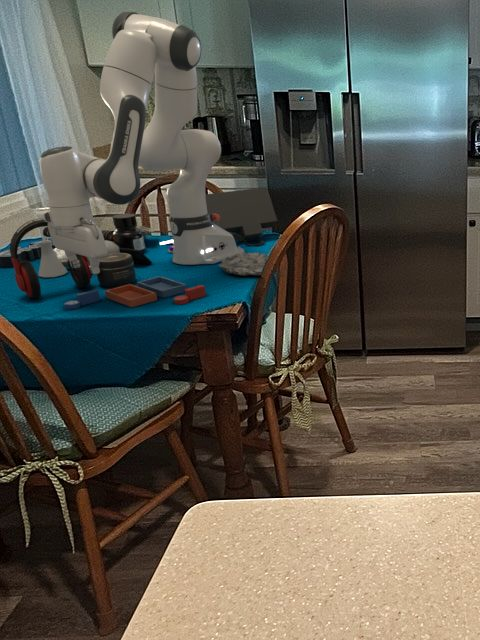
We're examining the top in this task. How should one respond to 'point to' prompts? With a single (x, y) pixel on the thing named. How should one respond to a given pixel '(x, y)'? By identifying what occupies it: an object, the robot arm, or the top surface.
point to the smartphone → (136, 255)
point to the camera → (243, 211)
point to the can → (39, 215)
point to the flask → (50, 261)
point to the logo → (22, 254)
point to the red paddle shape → (191, 294)
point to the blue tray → (163, 286)
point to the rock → (244, 263)
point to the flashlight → (106, 233)
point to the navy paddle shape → (83, 299)
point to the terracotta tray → (131, 295)
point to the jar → (116, 270)
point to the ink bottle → (127, 232)
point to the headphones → (26, 271)
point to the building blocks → (171, 249)
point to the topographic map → (139, 228)
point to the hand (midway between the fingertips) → (85, 270)
